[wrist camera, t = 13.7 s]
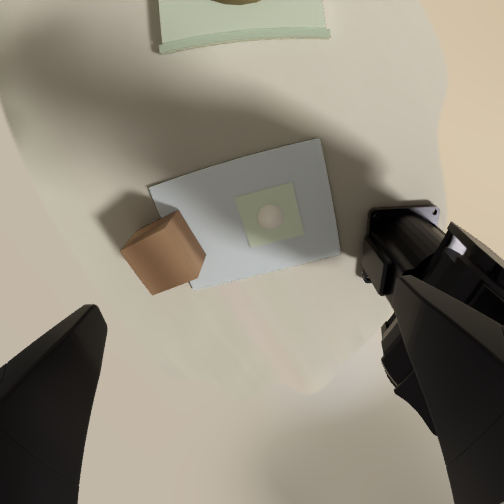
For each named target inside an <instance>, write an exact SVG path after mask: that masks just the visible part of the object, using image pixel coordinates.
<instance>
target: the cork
mask: <svg viewBox="0 0 504 504" xmlns="http://www.w3.org/2000/svg"><path fill="white" fill-rule="evenodd" d="M211 1H215V2H218V3H222V4H228V5H244V4H251V3H256V2H259V1H261V0H211Z"/></svg>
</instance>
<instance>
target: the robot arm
mask: <svg viewBox="0 0 504 504" xmlns="http://www.w3.org/2000/svg"><path fill="white" fill-rule="evenodd" d="M434 210H435V211H434ZM433 211H434V213H433ZM439 212H440V210H439V208H438V207H437V206H435V205H418V206H398V207H381V208H372V209H371V210H370V211H369V214H368V226H367V235H366V236H365V237H364V243H363V254H362V264H361V265H362V267H363V280H364V281H365V283H372V284H373V285H374V287H375V289H376V291H377V292H378V294H379V295H380V296H386V298H387V299H388V301H389V303H390V305H391V306H392V308H393V310H394V313H393V315H392V316H391V317H390V319H389V320H388V321H386V322H385V323H384V324H383V326H382V327H381V330H382V342H381V343H382V348H383V355H384V356H383V357H382V358H381V361H382V365H383V367H384V369H385V372H386V374H387V377H388V378H389V380H390V381H391V383H392V384H393V385H394V386H395V389H394V392H395V394H397V395H398V396H400V397H401V398H403V399H404V400H405V401H407V402H408V403H409V404H410V405H411V406H412V407H413V408H414V409H415V410H416V411H417V412H418V413H419V415H420V416H421V417H422V418H423V420H424V421H425V423H426V424H427V426H428V427H429V429H430V430H431V432H432V433H433V434H434V435H436V436H438V439H439V442H440V446H441V449H442V453H443V456H444V461H445V464H446V468H447V473H448V477H449V481H450V485H451V489H452V494H453V499H454V503H455V504H504V260H502V259H501V258H500V257H499V256H498V255H497V254H496V253H494V252H493V251H492V250H491V249H490V248H488V247H487V246H486V245H485V244H483V243H482V242H481V241H479V240H478V239H476V238H475V237H473V236H472V235H470V234H469V233H468V232H466V231H465V230H463V229H462V228H461V227H459V226H458V225H456V224H454V223H453V222H450V224H449V226H448V228H447V229H448V231H447V233H446V234H445V233H444V232H443V231H442V230H441V229H440V228H438V227H437V225H438V219H439ZM375 213H377V216H376V217H373V215H374V214H375ZM367 277H369V278H367ZM106 336H107V324H106V322H105V320H104V318H103V316H102V314H101V312H100V310H99V308H98V306H96V305H94V304H87V305H83V306H82V307H81V308H79V309H78V310H77V311H75V312H74V313H72V314H71V315H69V316H68V317H67V318H65V319H64V320H62V321H61V322H60V323H58V324H57V325H56V326H54V327H53V328H52V329H50V330H49V331H48V332H46V333H45V334H44V335H42V336H41V337H40V338H38V339H37V340H36V341H34V342H33V343H32V344H30V345H29V346H28V347H26V348H25V349H24V350H23V351H21V352H20V353H19V354H17V355H16V356H15V357H14V358H12V359H11V360H10V361H9V362H8V363H7V364H5V365H3V366H2V367H1V368H0V504H77V503H78V492H79V481H80V474H81V466H82V459H83V453H84V446H85V441H86V435H87V430H88V425H89V420H90V415H91V410H92V405H93V401H94V396H95V392H96V388H97V384H98V380H99V376H100V371H101V365H102V359H103V353H104V347H105V341H106Z"/></svg>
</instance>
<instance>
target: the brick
mask: <svg viewBox="0 0 504 504" xmlns="http://www.w3.org/2000/svg"><path fill="white" fill-rule="evenodd" d="M120 252H121V254H122V255H123V256H124V258H125V259H126V261H127V262H128V263H129V265H130V266H131V268H132V269H133V270H134V272H135V273H136V274H137V276H138V277H139V279H140V280H141V281H142V283H143V284H144V285H145V287H146V288H147V289H148V290H149V292H150V293H151V294H152V295H155V294H157V293H160V292H163V291H165V290H168V289H171V288H173V287H176V286H179V285H181V284H184V283H187V282H189V281H192V280H195V279H197V278H198V276H199V274H200V271H201V268H202V265H203V263H204V260H205V257H206V253H205V252H204V250H203V248H202V247H201V245H200V244H199V242H198V240H197V239H196V237H195V236H194V234H193V232H192V231H191V229H190V227H189V226H188V224H187V223H186V221H185V219H184V218H183V216H182V214H181V213H180V211H179V209H178V210H176V211H174V212H172V213H170V214H168V215H166V216H164V217H162V218H160V219H158V220H157V221H155V222H153V223H151V224H149V225H147V226H145V227H143V228H141V229H140V230H138V231H136V232H135V234H134V235H133V236H132V237H131V238H130V239H129V241H128V242H127V243H126V244H125V246H124V247H123V248H122V249H121V250H120Z"/></svg>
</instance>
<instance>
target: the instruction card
mask: <svg viewBox="0 0 504 504" xmlns="http://www.w3.org/2000/svg"><path fill="white" fill-rule="evenodd" d="M149 190H150V193H151V195H152V198H153V200H154V203H155V205H156V207H157V210H158V212H159V215H160V217H161V218H162V217H164V216H166V215H168V214H170V213H172V212H174V211H176V210H178V209H179V211H180V213H181V214H182V216H183V218H184V219H185V221H186V223H187V224H188V226H189V227H190V229H191V231H192V232H193V234H194V236H195V237H196V239H197V240H198V242H199V244H200V245H201V247H202V248H203V250H204V252H205V253H206V257H205V260H204V263H203V265H202V268H201V271H200V274H199V276H198V278H197V279H195V280H192V281H189V282H190V284H191V286H192V288H193V290H198V289H203V288H207V287H211V286H215V285H220V284H224V283H228V282H232V281H236V280H240V279H245V278H249V277H253V276H257V275H261V274H265V273H269V272H273V271H277V270H281V269H285V268H289V267H293V266H297V265H301V264H305V263H309V262H313V261H316V260H320V259H324V258H328V257H332V256H336V255H339V254H341V251H340V244H339V238H338V231H337V225H336V219H335V213H334V207H333V201H332V196H331V190H330V185H329V180H328V175H327V170H326V165H325V160H324V155H323V151H322V146H321V142H320V138H317V139H312V140H308V141H303V142H299V143H295V144H290V145H286V146H282V147H278V148H274V149H270V150H266V151H263V152H259V153H255V154H251V155H248V156H244V157H241V158H237V159H234V160H230V161H227V162H224V163H220V164H217V165H214V166H210V167H207V168H204V169H201V170H198V171H195V172H192V173H189V174H186V175H183V176H180V177H177V178H174V179H171V180H168V181H165V182H162V183H160V184H157V185H154V186H151V187H149Z"/></svg>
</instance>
